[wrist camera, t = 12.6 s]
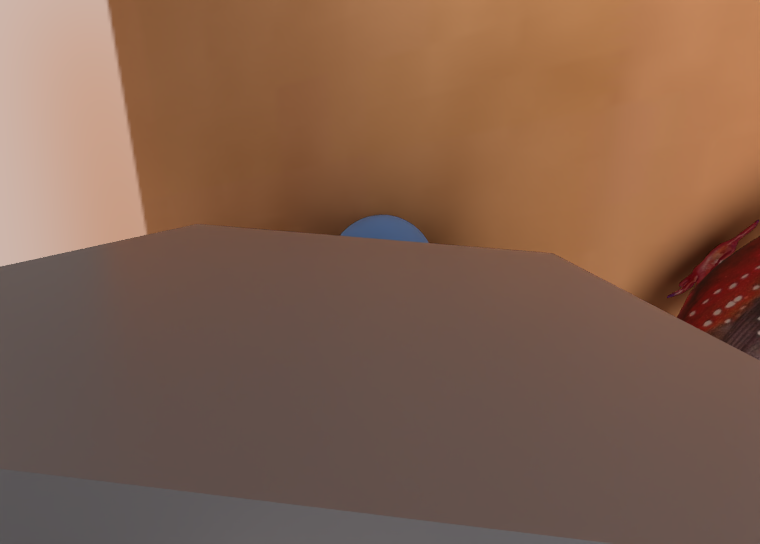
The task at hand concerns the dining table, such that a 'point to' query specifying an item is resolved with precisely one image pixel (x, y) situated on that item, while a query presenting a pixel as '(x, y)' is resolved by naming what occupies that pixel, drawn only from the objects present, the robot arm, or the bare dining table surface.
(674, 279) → the dining table surface
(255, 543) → the gray storage cube
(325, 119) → the dining table surface
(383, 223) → the ball
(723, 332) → the decorative bird figurine
